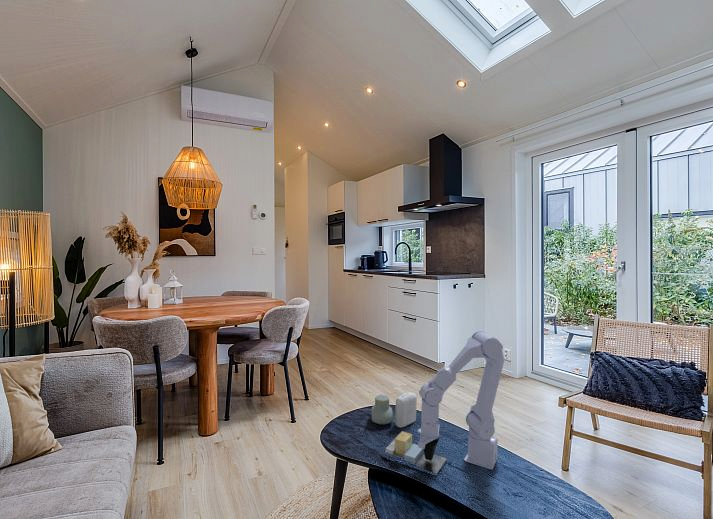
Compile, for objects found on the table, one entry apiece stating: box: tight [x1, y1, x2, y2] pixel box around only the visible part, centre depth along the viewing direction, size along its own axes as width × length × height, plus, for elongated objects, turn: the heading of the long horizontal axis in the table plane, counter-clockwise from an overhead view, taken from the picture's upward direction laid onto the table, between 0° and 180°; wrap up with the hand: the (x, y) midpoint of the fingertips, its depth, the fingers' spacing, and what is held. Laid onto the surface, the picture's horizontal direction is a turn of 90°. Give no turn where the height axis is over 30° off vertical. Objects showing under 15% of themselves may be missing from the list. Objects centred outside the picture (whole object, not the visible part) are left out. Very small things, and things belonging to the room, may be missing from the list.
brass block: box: [394, 430, 413, 458], centre depth 139 cm, size 4×6×6 cm, turn 149°
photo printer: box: [394, 391, 418, 428], centre depth 162 cm, size 10×4×12 cm, turn 134°
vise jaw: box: [404, 443, 424, 464], centre depth 137 cm, size 4×8×2 cm, turn 149°
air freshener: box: [371, 394, 394, 425], centre depth 163 cm, size 11×8×10 cm
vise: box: [384, 438, 448, 474], centre depth 137 cm, size 20×10×3 cm, turn 59°
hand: (428, 458), depth 134 cm, fingers closed
